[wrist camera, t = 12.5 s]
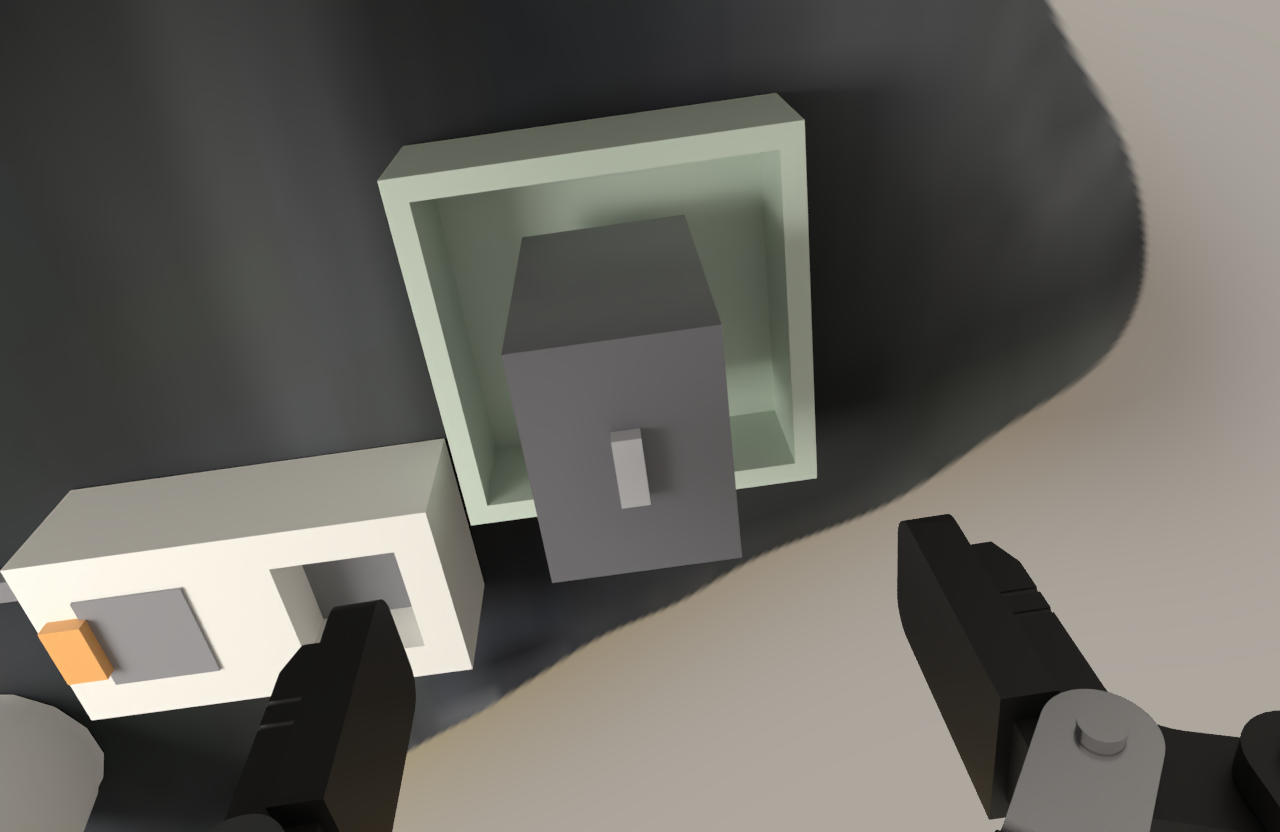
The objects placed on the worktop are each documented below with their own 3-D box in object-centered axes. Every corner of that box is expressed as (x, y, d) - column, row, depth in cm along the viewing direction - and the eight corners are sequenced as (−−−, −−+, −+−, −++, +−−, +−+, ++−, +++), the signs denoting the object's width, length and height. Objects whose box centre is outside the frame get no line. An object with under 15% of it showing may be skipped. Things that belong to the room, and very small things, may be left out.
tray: (402, 146, 24) (376, 180, 21) (776, 92, 24) (804, 120, 21) (482, 460, 29) (470, 525, 26) (792, 417, 29) (817, 477, 26)
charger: (526, 216, 25) (499, 364, 17) (678, 194, 25) (724, 333, 17) (560, 394, 27) (551, 594, 19) (696, 375, 27) (744, 568, 19)
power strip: (-115, 516, 29) (-225, 612, 25) (444, 438, 28) (422, 523, 25) (-23, 653, 32) (-109, 759, 28) (484, 584, 31) (470, 680, 27)
